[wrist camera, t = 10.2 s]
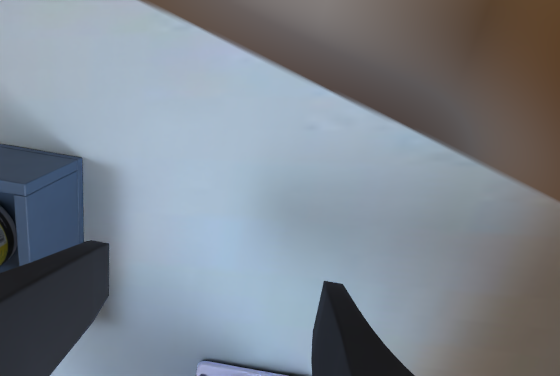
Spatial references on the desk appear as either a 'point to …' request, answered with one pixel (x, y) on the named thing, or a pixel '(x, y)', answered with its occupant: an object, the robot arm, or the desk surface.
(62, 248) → the desk bin
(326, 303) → the robot arm
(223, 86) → the desk surface
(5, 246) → the supplement bottle
